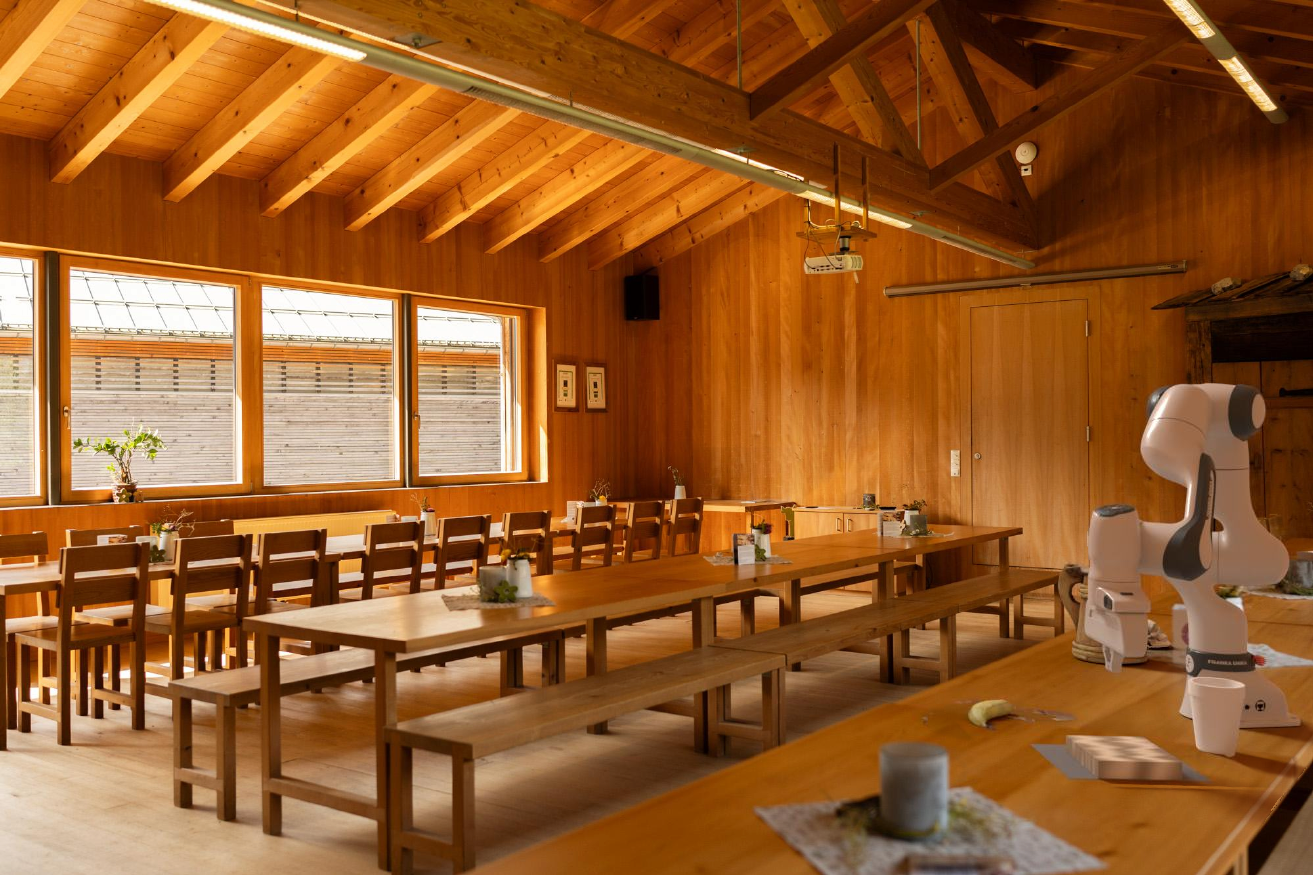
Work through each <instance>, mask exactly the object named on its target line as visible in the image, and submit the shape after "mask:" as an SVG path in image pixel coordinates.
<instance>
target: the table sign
mask: <svg viewBox="0 0 1313 875" xmlns="http://www.w3.org/2000/svg"><path fill="white" fill-rule="evenodd" d="M1065 745H1066V752H1067V753H1068V754H1069V755H1070V756H1072V757H1073V758H1074V759H1075V760H1076V761H1078V762H1079V763H1080V764H1081V765H1083V766H1084V767H1085V768H1086V769H1087V770H1089V771H1090V772H1091V773H1092V774H1093V775H1095V776H1096V777H1097V778H1103V779H1150V780H1182V762H1183V761H1182V760H1180V759H1179V758H1177V757H1176V756H1174V755H1173V756H1174V757H1173V756H1171V755H1172V754H1171V753H1170V754H1171V755H1170V754H1168V753H1169V752H1168V751H1166V750H1165V749H1163V748H1162V747H1160V746H1158V745H1156V744H1155V743H1153V742H1152V741H1150V740H1149V739H1147V738H1146V737H1143V736H1121V735H1120V736H1119V735H1118V736H1115V735H1114V736H1113V735H1111V736H1110V735H1073V734H1072V735H1070V734H1069V735H1068V734H1067V735H1065ZM1159 747H1160V748H1159ZM1161 748H1162V749H1163V750H1162V749H1161ZM1164 750H1165V751H1166V752H1165V751H1164ZM1167 752H1168V753H1167ZM1175 757H1176V758H1177V759H1176V758H1175ZM1178 759H1179V760H1180V761H1179V760H1178ZM1181 761H1182V762H1181ZM1103 779H1102V780H1103Z"/></svg>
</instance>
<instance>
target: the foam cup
mask: <svg viewBox="0 0 1313 875" xmlns="http://www.w3.org/2000/svg"><path fill="white" fill-rule="evenodd" d="M1188 693H1189V694H1190V702H1191V709H1192V717H1193V719H1192V724H1193V730H1194V731H1193V732H1194V741H1195V746H1196V748H1197V749H1198V750H1199V751H1202V752H1205V753H1209V754H1212V755H1213V754H1214V755H1224V756H1225V757H1228V758H1230V757H1235V755H1236V750H1237V746H1238V745H1237V744H1238V738H1239V731H1240V728H1239V726H1240V720H1241V713H1242V707H1243V701H1244V699H1245V685H1244V684H1243V683H1241V682H1237V681H1234V680H1228V679H1222V678H1212V677H1195V678H1190V679H1189V680H1188Z"/></svg>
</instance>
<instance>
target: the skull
mask: <svg viewBox="0 0 1313 875" xmlns="http://www.w3.org/2000/svg"><path fill="white" fill-rule="evenodd" d="M1147 645H1149V646H1171V645H1172V643H1171V641H1169V639H1168V635H1167V634H1165V633H1164V631H1163V630H1162V628H1161V626H1157V623H1156V622H1155V621H1153V620H1151V619H1148V641H1147Z"/></svg>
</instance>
